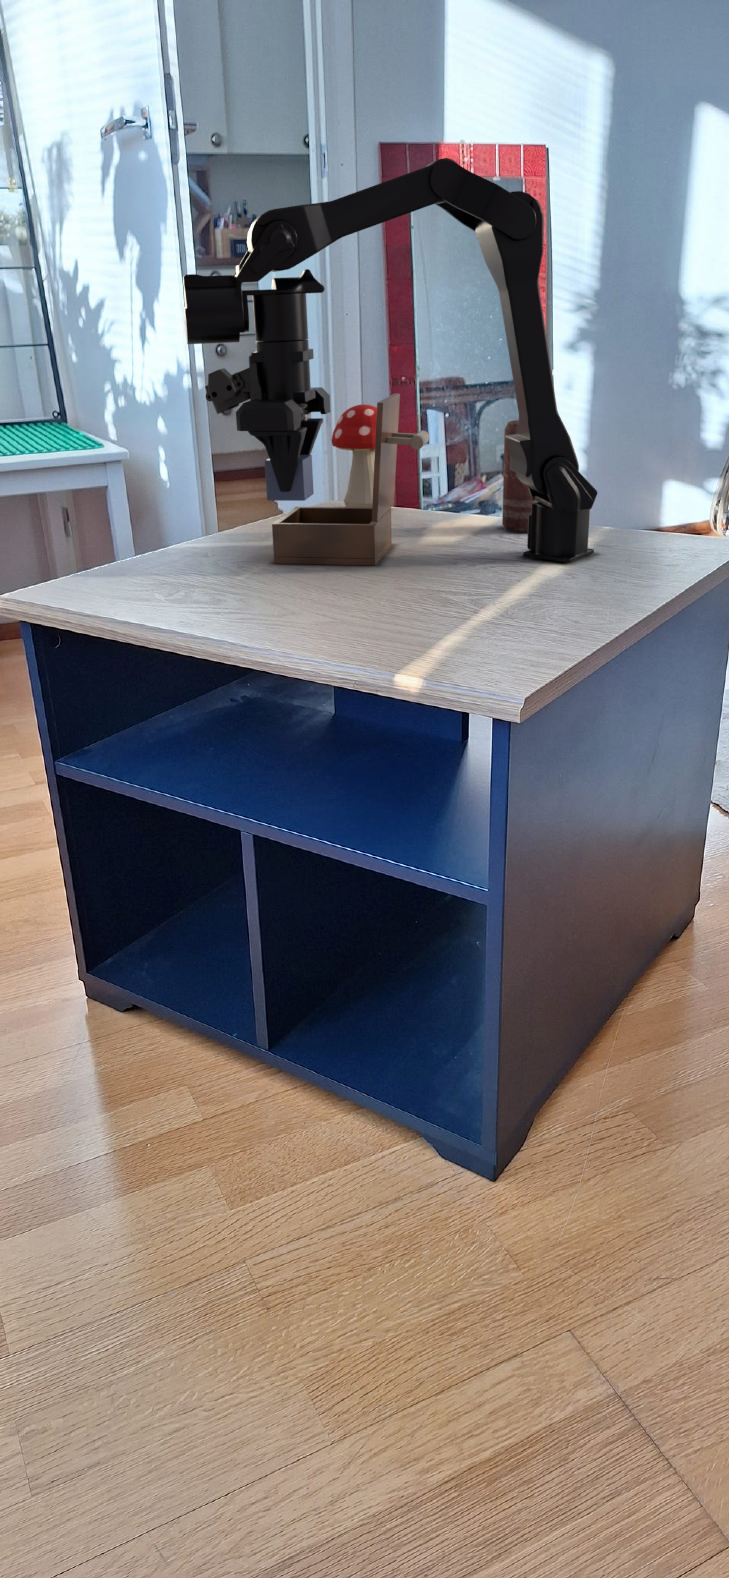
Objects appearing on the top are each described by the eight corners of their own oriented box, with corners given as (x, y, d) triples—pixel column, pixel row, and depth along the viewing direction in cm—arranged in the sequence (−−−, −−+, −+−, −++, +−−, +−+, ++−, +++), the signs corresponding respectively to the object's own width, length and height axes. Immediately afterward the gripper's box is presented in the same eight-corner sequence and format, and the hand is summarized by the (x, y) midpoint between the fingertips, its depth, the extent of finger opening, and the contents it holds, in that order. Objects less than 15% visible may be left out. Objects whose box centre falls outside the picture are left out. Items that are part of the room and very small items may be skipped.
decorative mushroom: (407, 506, 169) (406, 402, 163) (384, 516, 162) (382, 408, 156) (348, 502, 173) (345, 401, 167) (323, 512, 166) (319, 407, 160)
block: (313, 494, 129) (311, 454, 127) (304, 500, 125) (302, 460, 123) (276, 494, 130) (274, 454, 128) (267, 500, 126) (264, 460, 124)
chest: (274, 563, 136) (271, 524, 134) (297, 543, 146) (295, 506, 144) (375, 565, 134) (374, 525, 132) (391, 545, 144) (391, 507, 142)
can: (552, 532, 148) (557, 423, 143) (504, 534, 149) (507, 424, 143) (546, 524, 154) (550, 417, 148) (500, 525, 154) (502, 419, 148)
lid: (377, 402, 126) (421, 405, 125) (394, 393, 136) (435, 396, 135) (371, 521, 132) (414, 525, 131) (388, 504, 142) (428, 507, 141)
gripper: (235, 338, 130) (245, 475, 137) (182, 347, 114) (196, 503, 120) (328, 336, 128) (334, 475, 135) (288, 344, 111) (296, 503, 118)
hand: (290, 488), depth 127 cm, fingers closed on block, 4 cm apart
